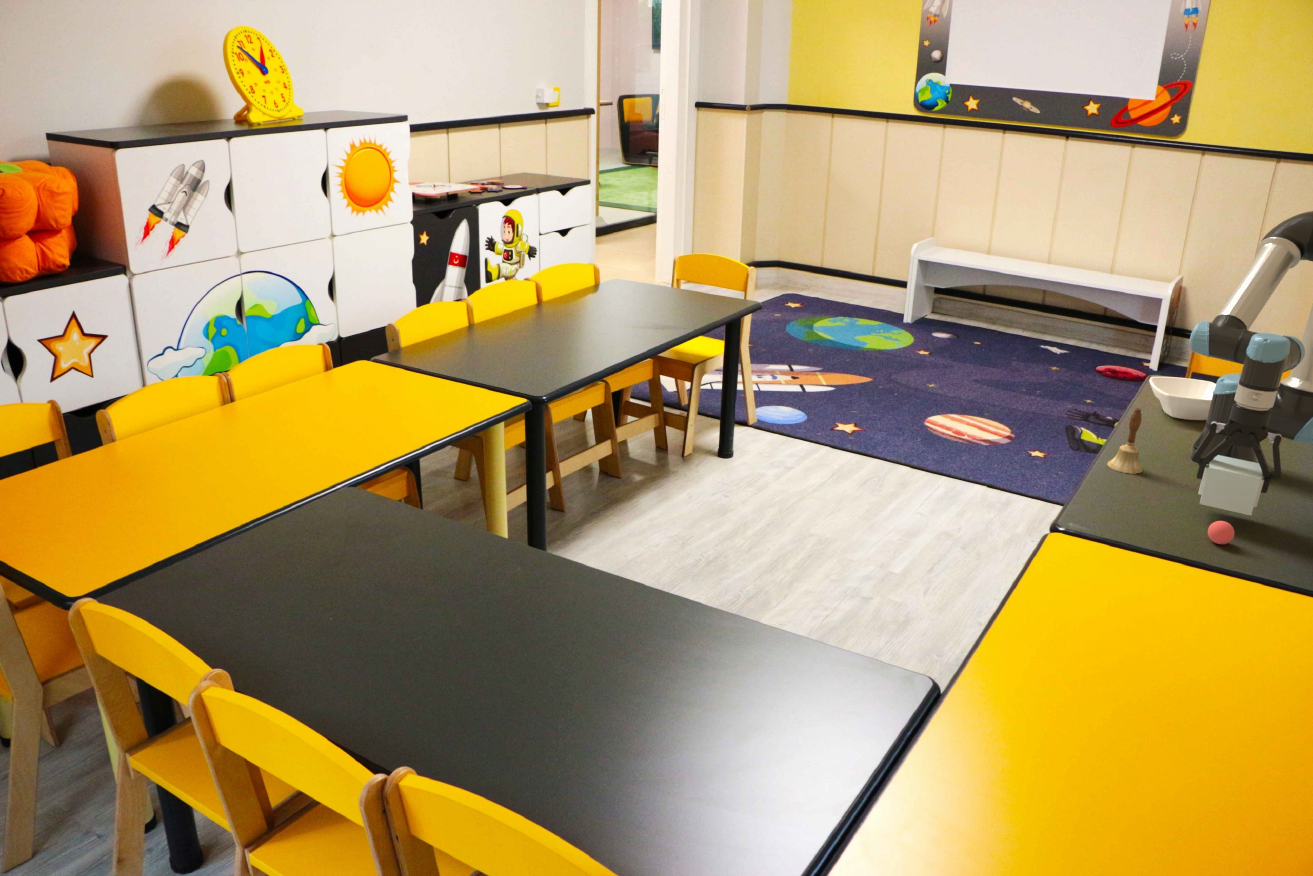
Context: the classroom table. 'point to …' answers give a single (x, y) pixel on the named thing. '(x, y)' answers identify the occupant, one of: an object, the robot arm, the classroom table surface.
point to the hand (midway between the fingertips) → (1227, 498)
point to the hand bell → (1128, 449)
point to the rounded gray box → (1231, 484)
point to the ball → (1221, 532)
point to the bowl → (1184, 396)
